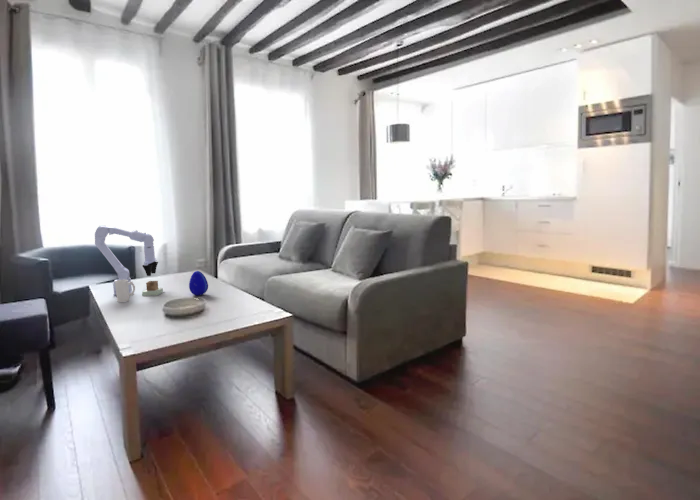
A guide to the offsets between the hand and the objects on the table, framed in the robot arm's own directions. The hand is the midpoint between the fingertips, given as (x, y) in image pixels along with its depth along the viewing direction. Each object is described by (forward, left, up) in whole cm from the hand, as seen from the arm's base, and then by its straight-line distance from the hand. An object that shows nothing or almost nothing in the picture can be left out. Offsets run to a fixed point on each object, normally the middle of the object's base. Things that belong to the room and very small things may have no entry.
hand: (151, 274), depth 270 cm
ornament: (+33, -15, -11) cm, 38 cm away
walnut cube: (+3, -9, -8) cm, 12 cm away
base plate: (+3, -9, -10) cm, 14 cm away
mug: (-6, -23, -11) cm, 26 cm away
